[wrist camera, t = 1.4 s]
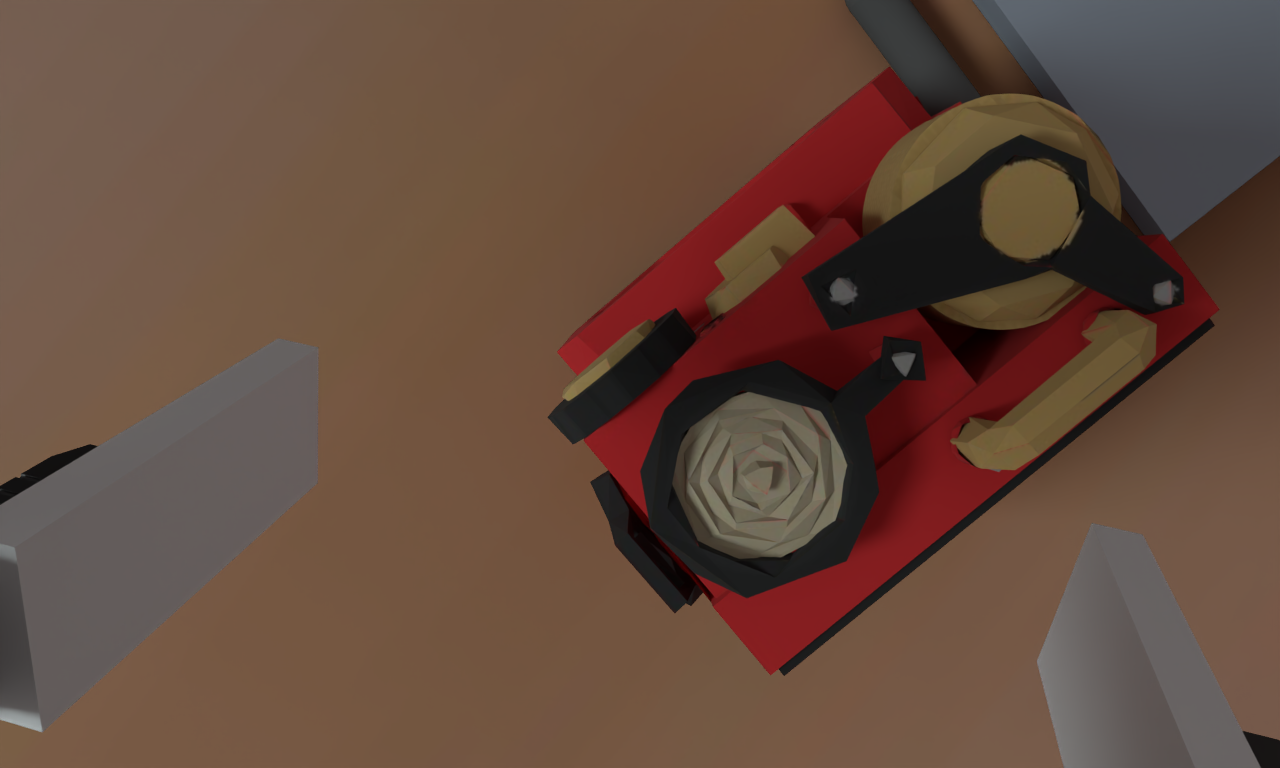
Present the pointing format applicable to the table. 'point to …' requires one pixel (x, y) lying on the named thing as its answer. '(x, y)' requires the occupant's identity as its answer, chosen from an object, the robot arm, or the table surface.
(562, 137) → the table surface
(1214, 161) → the board
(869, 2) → the rod
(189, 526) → the robot arm
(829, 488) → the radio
